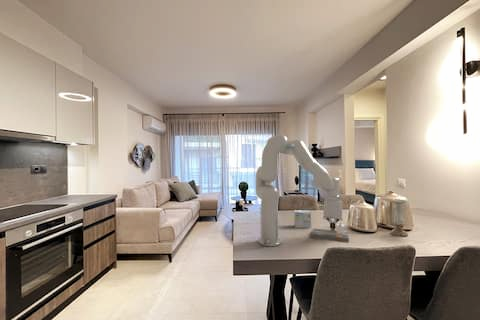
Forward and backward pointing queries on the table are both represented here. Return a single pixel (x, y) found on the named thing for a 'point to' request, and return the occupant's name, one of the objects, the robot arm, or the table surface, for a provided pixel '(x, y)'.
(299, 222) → the light bulb box
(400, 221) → the candle holder
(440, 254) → the table surface
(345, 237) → the switch board
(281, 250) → the table surface
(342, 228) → the switch tab
